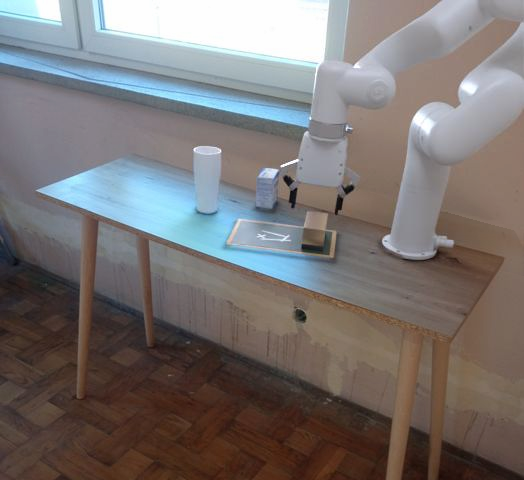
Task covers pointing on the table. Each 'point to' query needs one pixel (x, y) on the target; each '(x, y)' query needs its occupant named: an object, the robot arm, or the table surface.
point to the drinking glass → (207, 177)
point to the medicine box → (267, 188)
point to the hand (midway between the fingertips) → (314, 209)
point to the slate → (277, 238)
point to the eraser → (314, 231)
